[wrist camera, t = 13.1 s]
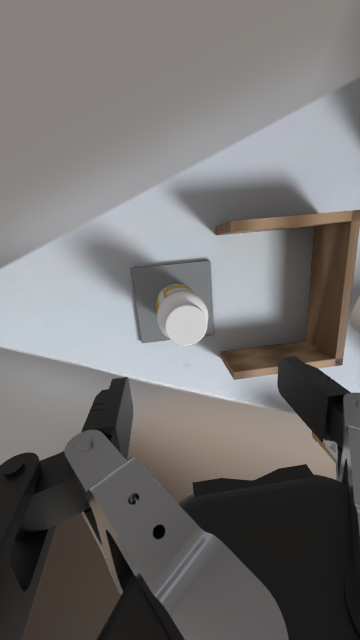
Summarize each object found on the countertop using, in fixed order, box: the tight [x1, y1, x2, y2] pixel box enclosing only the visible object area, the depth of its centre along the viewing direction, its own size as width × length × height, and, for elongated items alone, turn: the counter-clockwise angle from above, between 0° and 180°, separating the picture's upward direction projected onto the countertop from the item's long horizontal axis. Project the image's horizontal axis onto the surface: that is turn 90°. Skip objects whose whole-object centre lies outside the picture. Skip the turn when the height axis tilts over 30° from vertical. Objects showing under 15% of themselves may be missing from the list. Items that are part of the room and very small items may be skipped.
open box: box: [216, 210, 360, 380], centre depth 29 cm, size 14×18×6 cm
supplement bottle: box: [156, 284, 208, 346], centre depth 26 cm, size 5×5×10 cm
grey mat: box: [131, 261, 214, 343], centre depth 31 cm, size 10×10×1 cm
